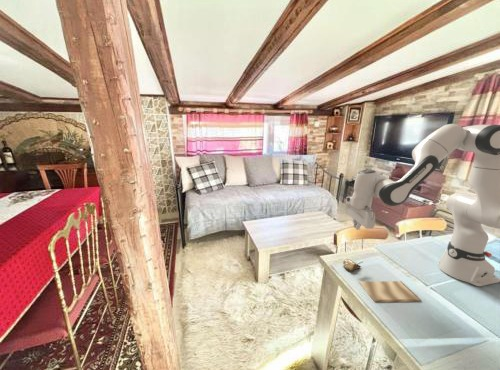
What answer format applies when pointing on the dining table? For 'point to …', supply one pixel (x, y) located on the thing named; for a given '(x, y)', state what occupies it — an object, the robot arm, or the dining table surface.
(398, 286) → the mat
